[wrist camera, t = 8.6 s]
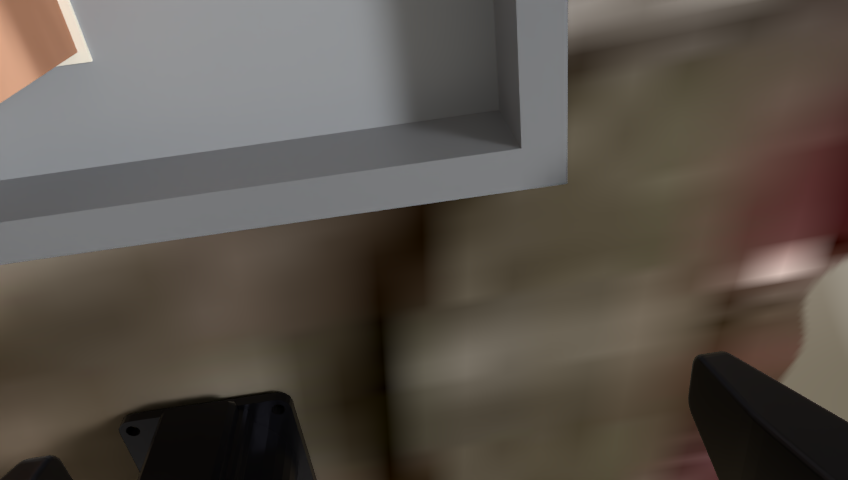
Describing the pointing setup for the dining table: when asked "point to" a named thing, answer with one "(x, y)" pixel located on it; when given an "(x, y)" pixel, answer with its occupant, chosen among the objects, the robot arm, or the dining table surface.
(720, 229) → the dining table surface
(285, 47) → the two-wall tray
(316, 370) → the dining table surface
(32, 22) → the terracotta block
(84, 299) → the dining table surface
